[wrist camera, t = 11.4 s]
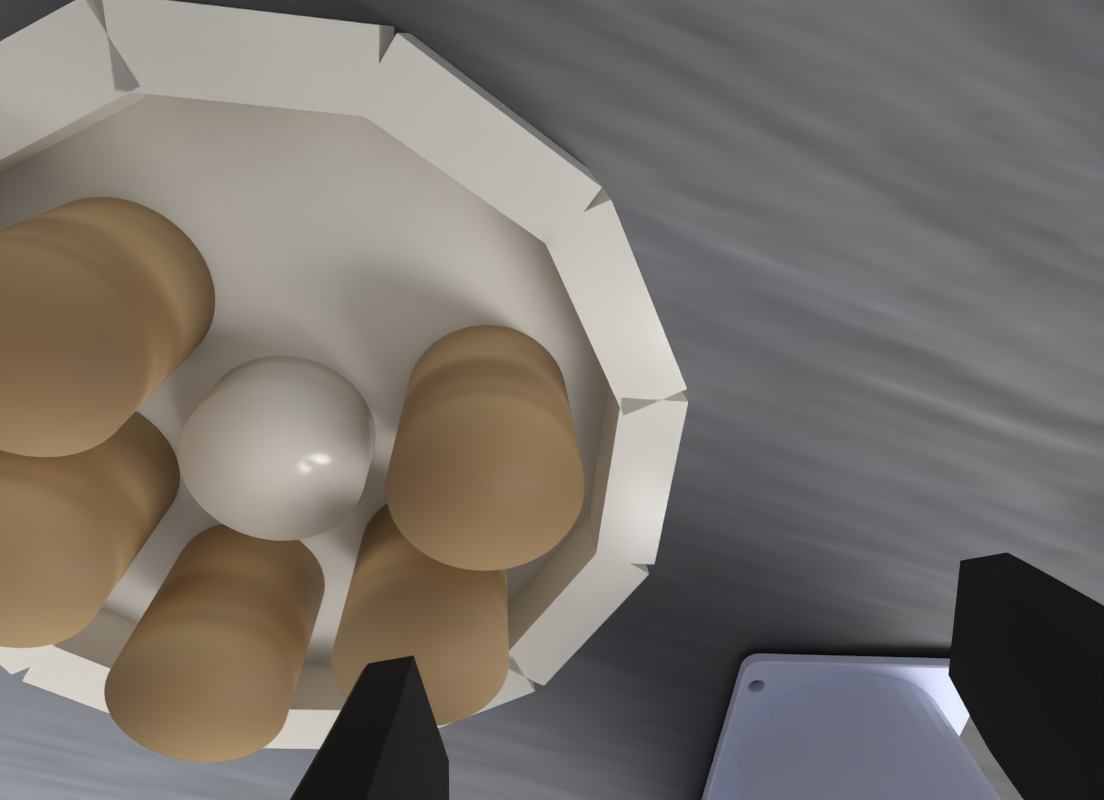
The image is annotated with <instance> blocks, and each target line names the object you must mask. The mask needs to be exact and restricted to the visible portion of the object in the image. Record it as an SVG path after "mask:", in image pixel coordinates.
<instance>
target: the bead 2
mask: <svg viewBox="0 0 1104 800" xmlns="http://www.w3.org/2000/svg"><path fill="white" fill-rule="evenodd" d="M413 655H414V658H415V661H416V664H417V667H418V670H419V673H420V676H421V679H422V682H423V685H424V688H425V691H426V694H427V697H428V700H429V703H430V706H431V709H432V712H433V715H434V718H435V721H436V724H437V726H440V725H445V724H449V723H453V722H456V721H459V720H462V719H465V718H467V717H469V716H471V715H473V714H475V713H476V712H478V711H479V710H481V709H483V708H484V707H485V706H486V705H487V704H489V703H490V702H491V701H492V700H493V699H494V698H495V697H496V695H497V694H498V693H499V691H500V690H501V688H502V686H503V684H504V682H505V680H506V677H507V674H508V668H509V643H508V598H507V569H501V570H492V571H477V570H467V569H462V568H457V567H453V566H450V565H447V564H444V563H441V562H439V561H437V560H435V559H433V558H431V557H429V556H427V555H426V554H424V553H422V552H421V551H420V550H418V549H417V548H416V547H415V546H413V545H412V544H411V543H410V542H409V541H408V540H407V539H406V538H405V537H404V536H403V534H402V533H401V532H400V530H399V529H398V528H397V526H396V524H395V522H394V520H393V519H392V516H391V514H390V511H389V508H388V504H385V505H384V506H383V507H381V508H380V509H379V510H378V511H377V512H376V513H375V514H374V515H373V517H372V518H371V519H370V521H369V523H368V524H367V526H366V528H365V531H364V534H363V537H362V541H361V545H360V549H359V552H358V556H357V560H356V564H355V567H354V571H353V575H352V579H351V582H350V586H349V590H348V594H347V597H346V601H345V605H344V609H343V612H342V616H341V620H340V624H339V627H338V631H337V635H336V639H335V643H334V646H333V651H332V657H331V666H332V671H333V676H334V678H335V681H336V683H337V685H338V687H339V689H340V690H341V692H342V693H343V694H344V695H345V697H346V698H348V696H349V694H350V692H351V691H352V689H353V687H354V685H355V683H356V681H357V679H358V677H359V676H360V674H361V672H362V670H363V669H364V668H365V667H366V665H367V664H368V663H373V662H378V661H384V660H390V659H396V658H401V657H407V656H413Z"/></svg>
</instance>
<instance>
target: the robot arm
mask: <svg viewBox="0 0 1104 800" xmlns="http://www.w3.org/2000/svg"><path fill="white" fill-rule="evenodd" d="M755 680H757V681H755ZM752 681H755V682H752ZM969 715H970V717H971V719H972V720H973V722H974V724H975V726H976V727H977V729H978V731H979V733H980V734H981V736H982V738H983V740H984V741H985V743H986V745H987V747H988V749H989V750H990V752H991V753H992V755H993V756H994V758H995V759H996V761H997V762H998V764H999V765H1000V766H1001V768H1002V769H1003V771H1004V772H1005V774H1006V775H1007V777H1008V778H1009V779H1010V781H1011V782H1012V784H1013V785H1014V787H1015V788H1016V789H1017V791H1018V792H1019V794H1020V795H1021V797H1022V798H1023V799H1024V800H1104V606H1103V605H1101V604H1100V603H1098V602H1096V601H1094V600H1093V599H1091V598H1089V597H1087V596H1086V595H1084V594H1082V593H1080V592H1078V591H1077V590H1075V589H1073V588H1071V587H1070V586H1068V585H1066V584H1064V583H1062V582H1061V581H1059V580H1057V579H1055V578H1054V577H1052V576H1050V575H1048V574H1046V573H1045V572H1043V571H1041V570H1039V569H1037V568H1035V567H1034V566H1032V565H1030V564H1028V563H1026V562H1024V561H1022V560H1021V559H1019V558H1017V557H1015V556H1013V555H1011V554H1009V553H1002V554H996V555H991V556H985V557H979V558H973V559H967V560H962V561H960V570H959V579H958V589H957V598H956V607H955V617H954V626H953V635H952V645H951V654H950V659H945V658H908V657H871V656H834V655H797V654H753V655H750V656H748V657H747V658H746V659H745V660H744V661H743V662H742V664H741V666H740V670H739V673H738V677H737V680H736V683H735V687H734V690H733V694H732V697H731V700H730V704H729V707H728V711H727V714H726V718H725V721H724V724H723V728H722V731H721V735H720V738H719V742H718V745H717V748H716V752H715V755H714V759H713V762H712V765H711V769H710V772H709V776H708V779H707V783H706V786H705V789H704V793H703V796H702V800H1001V799H1000V797H999V796H998V794H997V793H996V791H995V790H994V788H993V787H992V785H991V784H990V782H989V781H988V779H987V778H986V776H985V775H984V773H983V772H982V770H981V769H980V767H979V766H978V764H977V763H976V761H975V760H974V758H973V757H972V755H971V754H970V752H969V751H968V749H967V748H966V746H965V745H964V743H963V742H962V740H961V739H960V737H959V736H960V734H961V732H962V730H963V728H964V726H965V724H966V722H967V720H968V717H969ZM290 800H449V760H448V757H447V754H446V751H445V748H444V745H443V742H442V739H441V736H440V733H439V730H438V727H437V724H436V721H435V718H434V715H433V712H432V709H431V706H430V703H429V700H428V697H427V694H426V691H425V688H424V685H423V682H422V679H421V676H420V673H419V670H418V667H417V664H416V661H415V658H414V655H413V656H407V657H401V658H396V659H390V660H384V661H378V662H373V663H368V664H367V665H366V667H365V668H364V669H363V670H362V672H361V674H360V676H359V677H358V679H357V681H356V683H355V685H354V687H353V689H352V691H351V692H350V694H349V696H348V698H347V700H346V702H345V704H344V705H343V707H342V709H341V711H340V713H339V715H338V717H337V718H336V720H335V722H334V724H333V726H332V728H331V729H330V731H329V733H328V735H327V737H326V738H325V740H324V742H323V744H322V745H321V747H320V749H319V751H318V753H317V754H316V756H315V758H314V760H313V762H312V763H311V765H310V767H309V768H308V770H307V772H306V774H305V775H304V777H303V779H302V780H301V782H300V784H299V785H298V787H297V789H296V790H295V792H294V794H293V795H292V797H291V799H290Z"/></svg>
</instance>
